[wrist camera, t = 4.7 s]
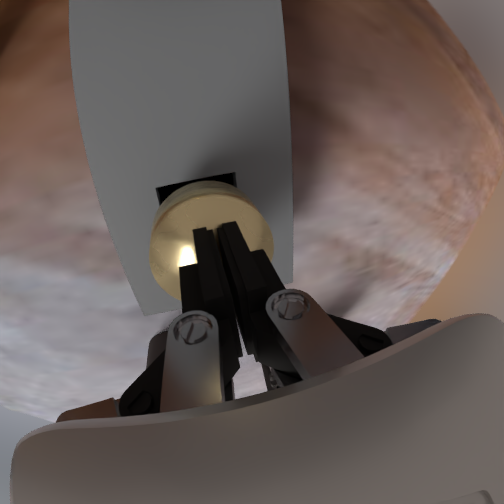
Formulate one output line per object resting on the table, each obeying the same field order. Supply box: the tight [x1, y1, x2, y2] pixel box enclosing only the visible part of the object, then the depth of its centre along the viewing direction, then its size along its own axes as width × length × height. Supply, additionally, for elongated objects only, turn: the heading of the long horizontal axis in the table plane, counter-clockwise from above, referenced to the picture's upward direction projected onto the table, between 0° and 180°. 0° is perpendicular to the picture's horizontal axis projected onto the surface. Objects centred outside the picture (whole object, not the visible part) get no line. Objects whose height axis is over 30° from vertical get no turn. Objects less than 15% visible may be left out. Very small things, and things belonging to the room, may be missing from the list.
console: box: [69, 0, 293, 316], centre depth 12 cm, size 26×10×6 cm, turn 5°
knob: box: [149, 177, 274, 301], centre depth 13 cm, size 5×5×6 cm
